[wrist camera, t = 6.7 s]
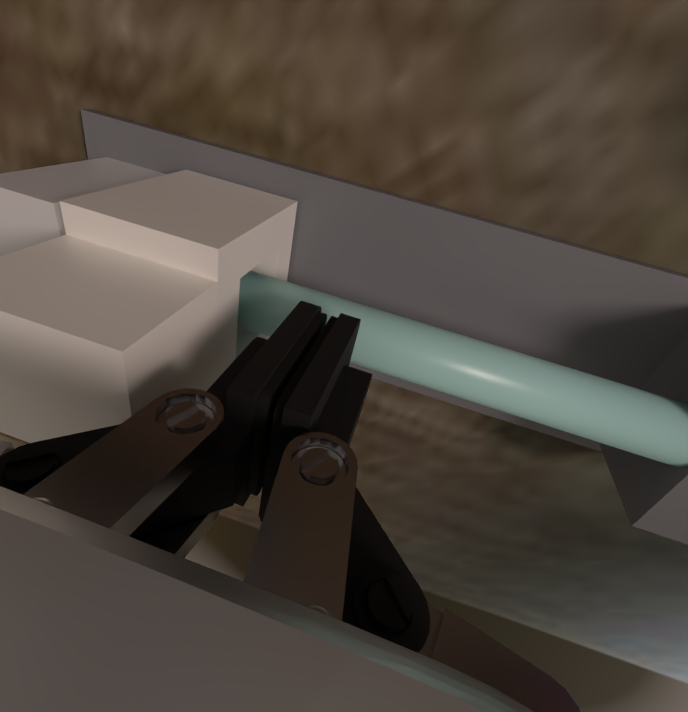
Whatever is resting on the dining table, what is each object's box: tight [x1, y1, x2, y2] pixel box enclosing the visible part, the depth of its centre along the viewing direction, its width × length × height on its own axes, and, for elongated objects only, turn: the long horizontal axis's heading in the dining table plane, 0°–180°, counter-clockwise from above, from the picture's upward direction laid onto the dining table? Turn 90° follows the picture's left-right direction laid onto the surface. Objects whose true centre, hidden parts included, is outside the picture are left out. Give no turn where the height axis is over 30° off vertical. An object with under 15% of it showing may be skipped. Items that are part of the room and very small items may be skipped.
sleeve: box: [0, 169, 298, 443], centre depth 11 cm, size 4×5×8 cm
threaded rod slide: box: [0, 109, 688, 545], centre depth 13 cm, size 24×7×5 cm, turn 78°
